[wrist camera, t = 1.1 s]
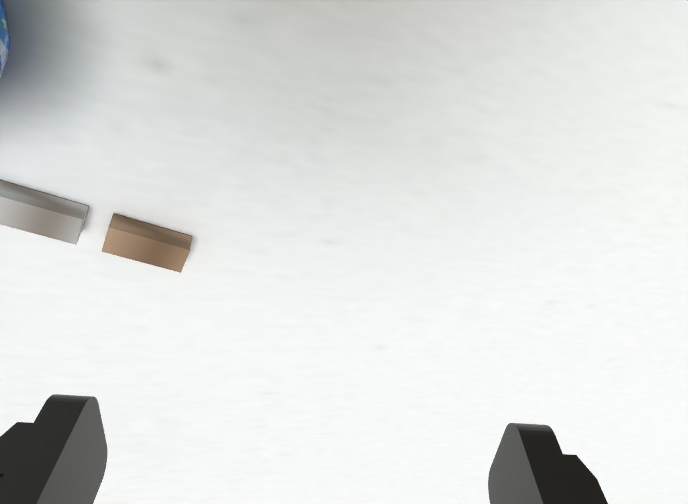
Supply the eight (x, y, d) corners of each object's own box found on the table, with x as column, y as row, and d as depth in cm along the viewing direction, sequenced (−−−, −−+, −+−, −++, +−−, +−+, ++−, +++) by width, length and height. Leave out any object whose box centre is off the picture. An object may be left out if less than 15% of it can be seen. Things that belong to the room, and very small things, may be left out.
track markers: (-135, 170, 31) (-150, 184, 30) (-133, -290, 21) (-156, -296, 19) (182, 258, 38) (180, 272, 37) (309, -56, 27) (312, -50, 26)
